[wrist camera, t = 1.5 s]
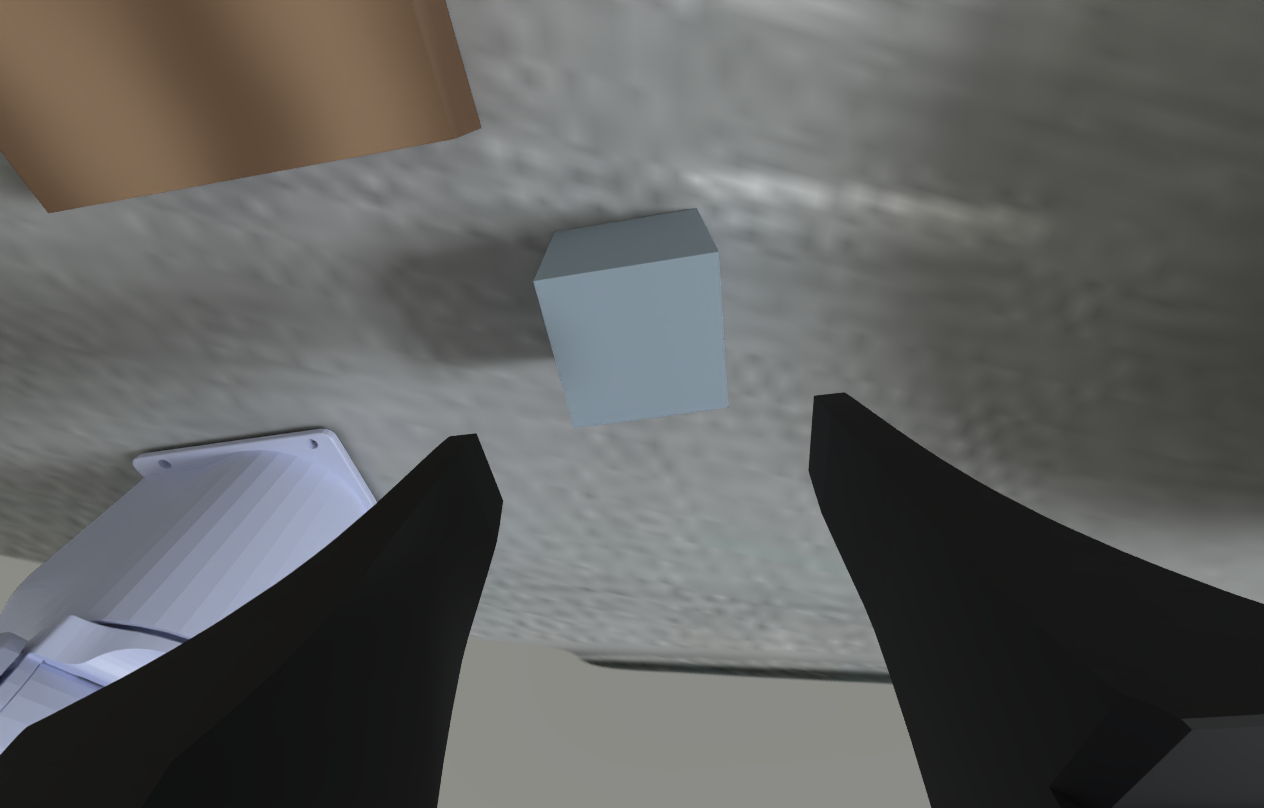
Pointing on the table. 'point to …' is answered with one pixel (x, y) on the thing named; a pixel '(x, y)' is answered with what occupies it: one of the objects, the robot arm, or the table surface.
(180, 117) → the walnut base
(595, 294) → the slate cube
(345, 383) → the table surface
